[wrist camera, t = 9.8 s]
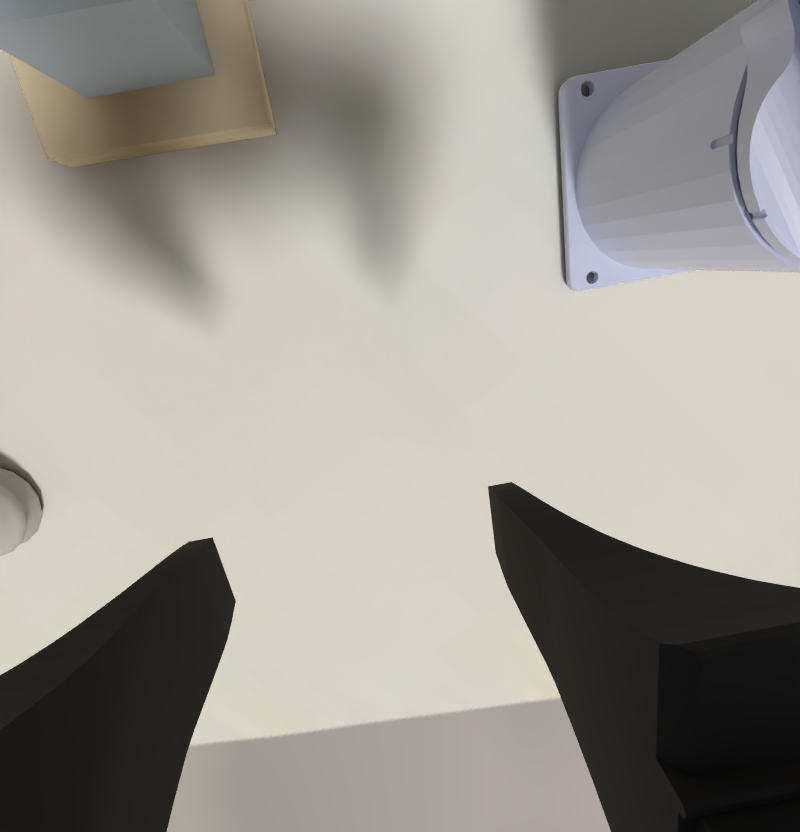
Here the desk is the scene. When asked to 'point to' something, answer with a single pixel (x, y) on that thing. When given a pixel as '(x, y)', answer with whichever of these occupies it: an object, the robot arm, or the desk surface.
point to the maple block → (160, 102)
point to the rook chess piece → (17, 511)
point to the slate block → (107, 42)
